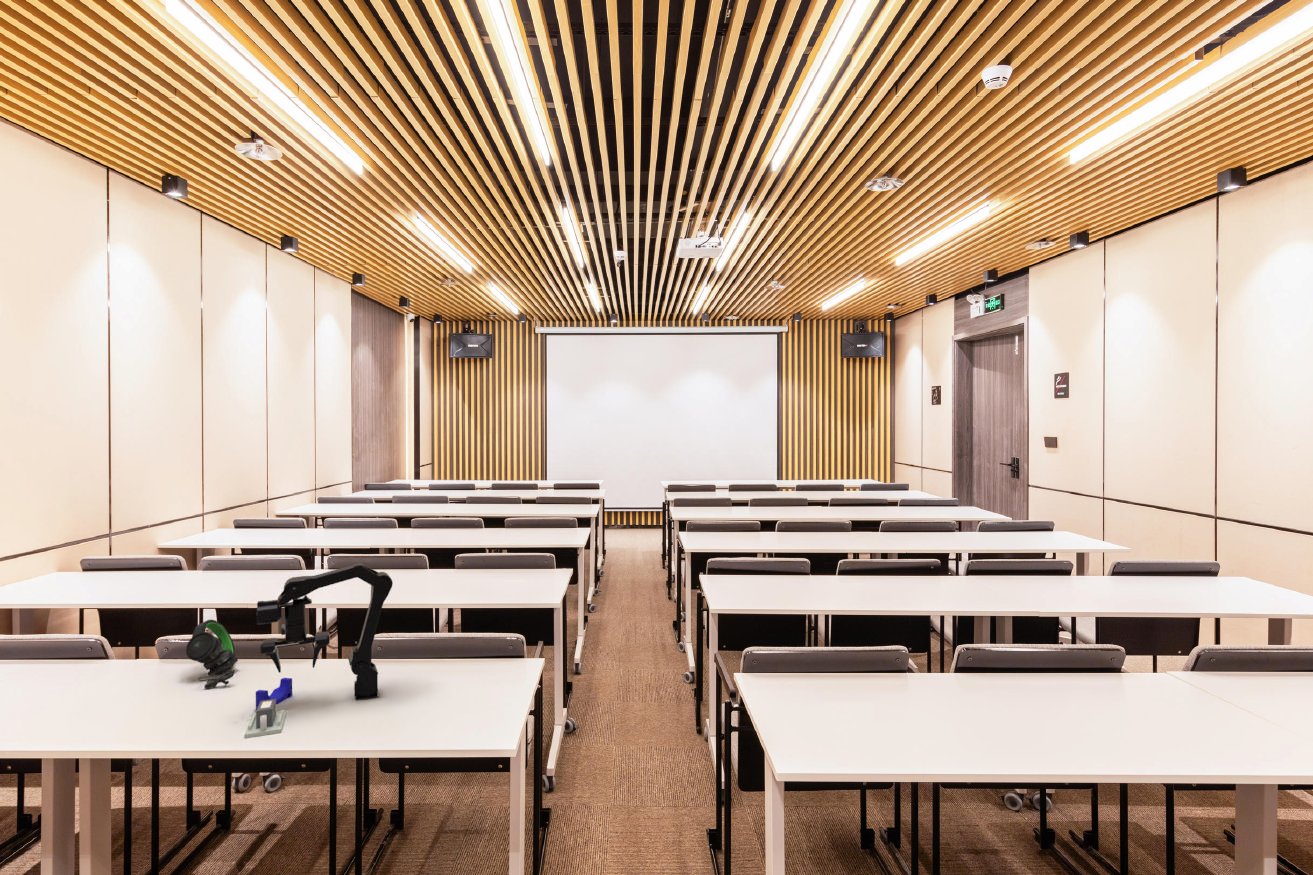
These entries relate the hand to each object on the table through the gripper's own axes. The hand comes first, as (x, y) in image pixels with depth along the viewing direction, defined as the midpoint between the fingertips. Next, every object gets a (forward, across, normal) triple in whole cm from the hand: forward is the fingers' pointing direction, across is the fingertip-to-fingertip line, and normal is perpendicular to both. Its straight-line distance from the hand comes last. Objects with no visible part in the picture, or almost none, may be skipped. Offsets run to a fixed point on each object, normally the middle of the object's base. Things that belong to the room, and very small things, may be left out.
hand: (296, 669), depth 213 cm
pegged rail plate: (+11, +8, +11) cm, 18 cm away
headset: (+11, +26, -42) cm, 50 cm away
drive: (+10, +8, +11) cm, 17 cm away
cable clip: (+12, +8, -7) cm, 16 cm away
